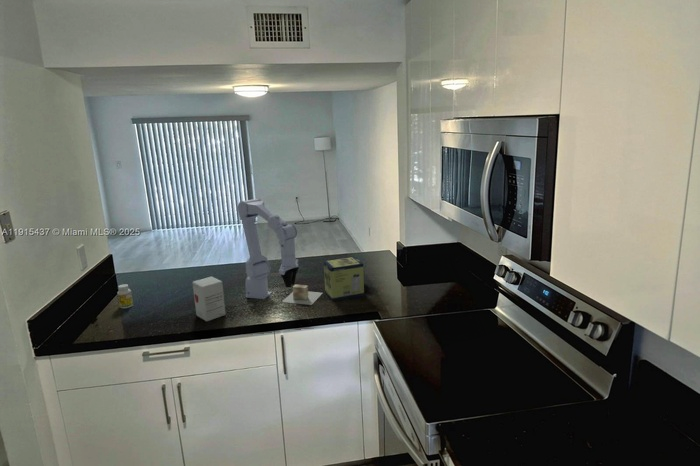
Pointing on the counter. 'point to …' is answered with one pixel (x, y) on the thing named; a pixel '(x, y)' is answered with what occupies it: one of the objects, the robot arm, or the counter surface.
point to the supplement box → (209, 298)
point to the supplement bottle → (124, 296)
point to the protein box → (344, 278)
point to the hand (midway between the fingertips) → (290, 285)
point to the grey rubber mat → (312, 298)
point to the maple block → (300, 292)
